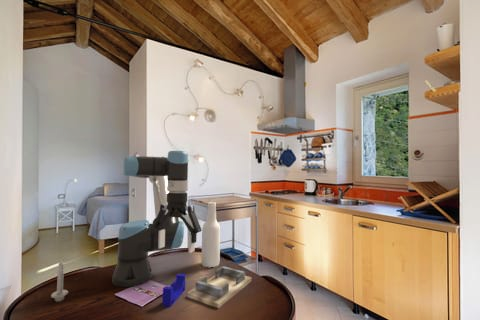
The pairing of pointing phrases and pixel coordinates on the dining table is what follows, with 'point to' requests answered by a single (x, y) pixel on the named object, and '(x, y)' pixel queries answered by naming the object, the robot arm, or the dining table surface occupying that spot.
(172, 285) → the cable clip
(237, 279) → the board
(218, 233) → the alcohol
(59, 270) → the screw
